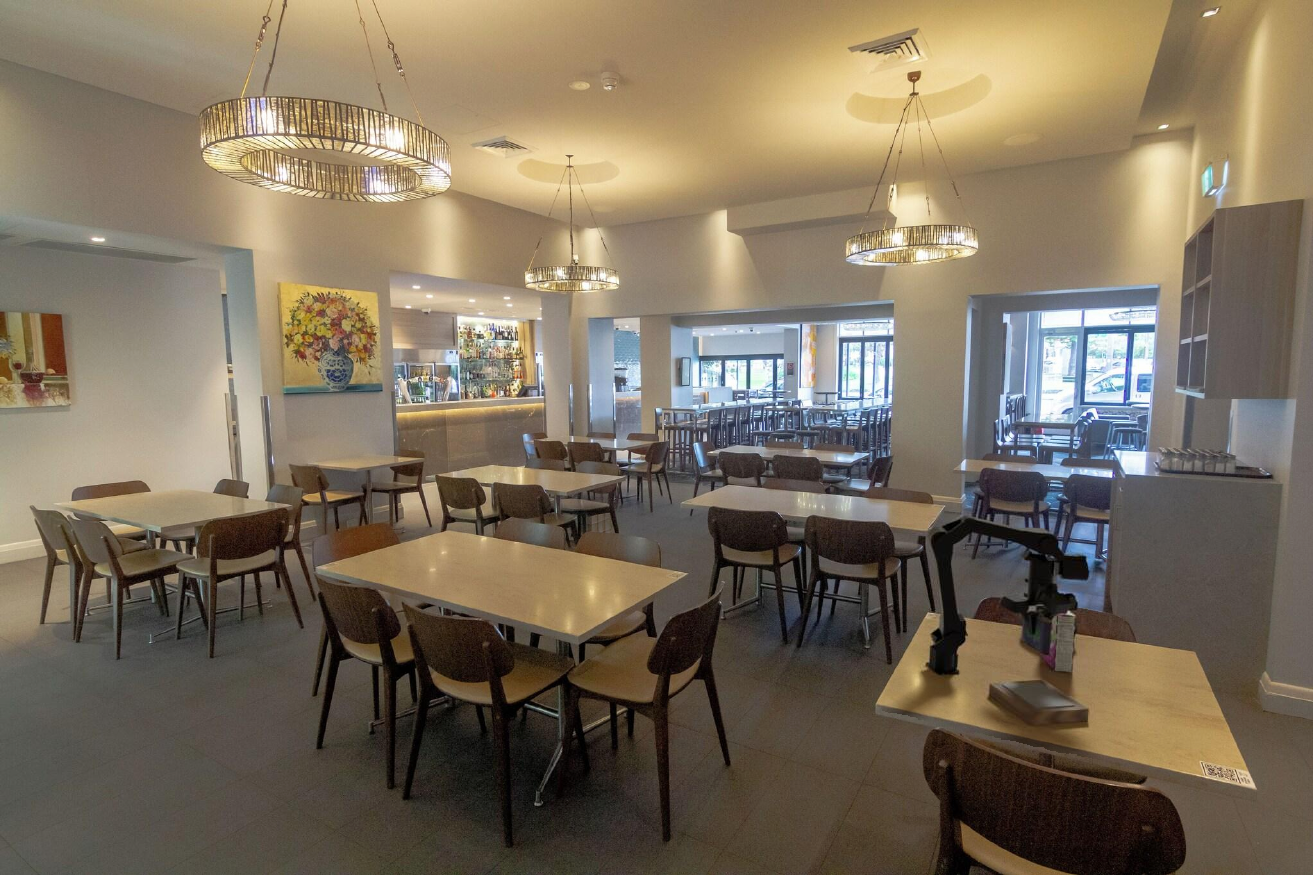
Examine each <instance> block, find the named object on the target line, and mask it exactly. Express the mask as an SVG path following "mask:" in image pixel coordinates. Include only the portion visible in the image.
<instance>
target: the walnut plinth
mask: <svg viewBox="0 0 1313 875" xmlns="http://www.w3.org/2000/svg"><path fill="white" fill-rule="evenodd" d="M988 695H989V696H990V697H992V698H993V699H994V700H995V701H997V702H998V703H1000V704H1001V705H1003V706H1004V707H1005V708H1006V709H1008V710H1009V711H1010V712H1012V714H1015V715H1016V716H1017V717H1019V718H1020V719H1021V720H1023V721H1024V722H1025V723H1026V724H1028V725H1029V726H1039V725H1041V726H1043V725H1053V724H1054V725H1056V724H1069V723H1078V722H1088V721H1089V715H1090V714H1089V713H1090V712H1089V711H1090V708H1088V707H1087V706H1085V705H1084V704H1082V703H1081V702H1079V701H1077V700H1076V699H1074V698H1072V697H1071V696H1069V695H1067V694H1066V693H1065V692H1063V691H1061V689H1058V688H1057V687H1055V686H1054V685H1051V684H1050V683H1049V682H1047V681H1045V680H1044V679H1034V680H1033V679H1031V680H1016V681H1001V682H989V686H988Z"/></svg>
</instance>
